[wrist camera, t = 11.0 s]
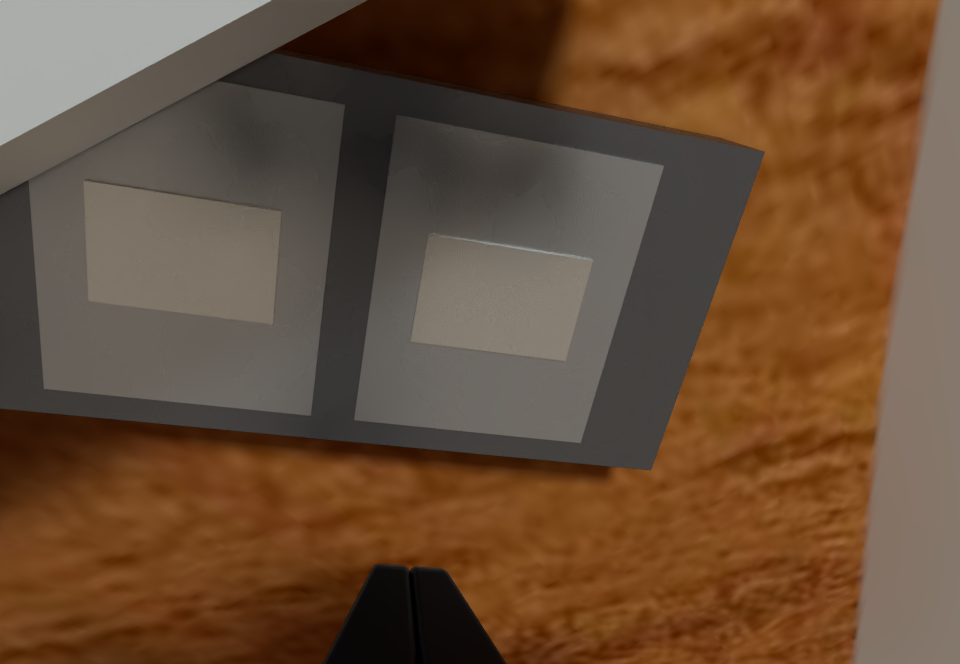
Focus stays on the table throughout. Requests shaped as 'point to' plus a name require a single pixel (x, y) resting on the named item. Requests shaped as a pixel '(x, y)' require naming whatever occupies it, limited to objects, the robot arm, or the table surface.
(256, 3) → the upright grey slab
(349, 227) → the server tray
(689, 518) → the table surface
